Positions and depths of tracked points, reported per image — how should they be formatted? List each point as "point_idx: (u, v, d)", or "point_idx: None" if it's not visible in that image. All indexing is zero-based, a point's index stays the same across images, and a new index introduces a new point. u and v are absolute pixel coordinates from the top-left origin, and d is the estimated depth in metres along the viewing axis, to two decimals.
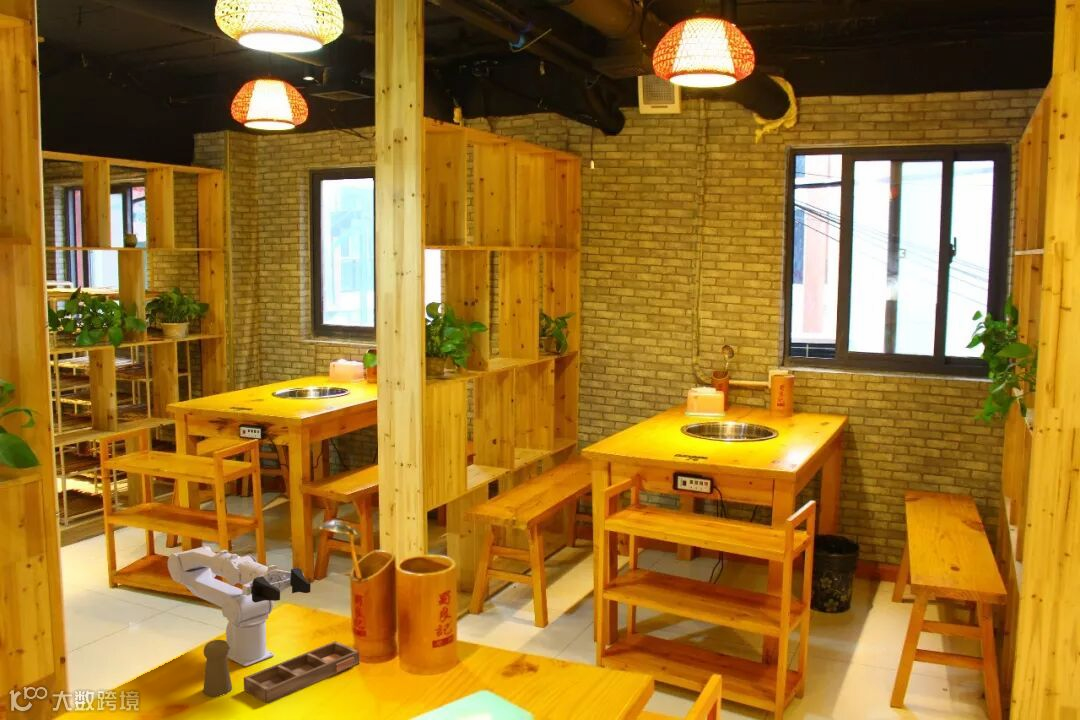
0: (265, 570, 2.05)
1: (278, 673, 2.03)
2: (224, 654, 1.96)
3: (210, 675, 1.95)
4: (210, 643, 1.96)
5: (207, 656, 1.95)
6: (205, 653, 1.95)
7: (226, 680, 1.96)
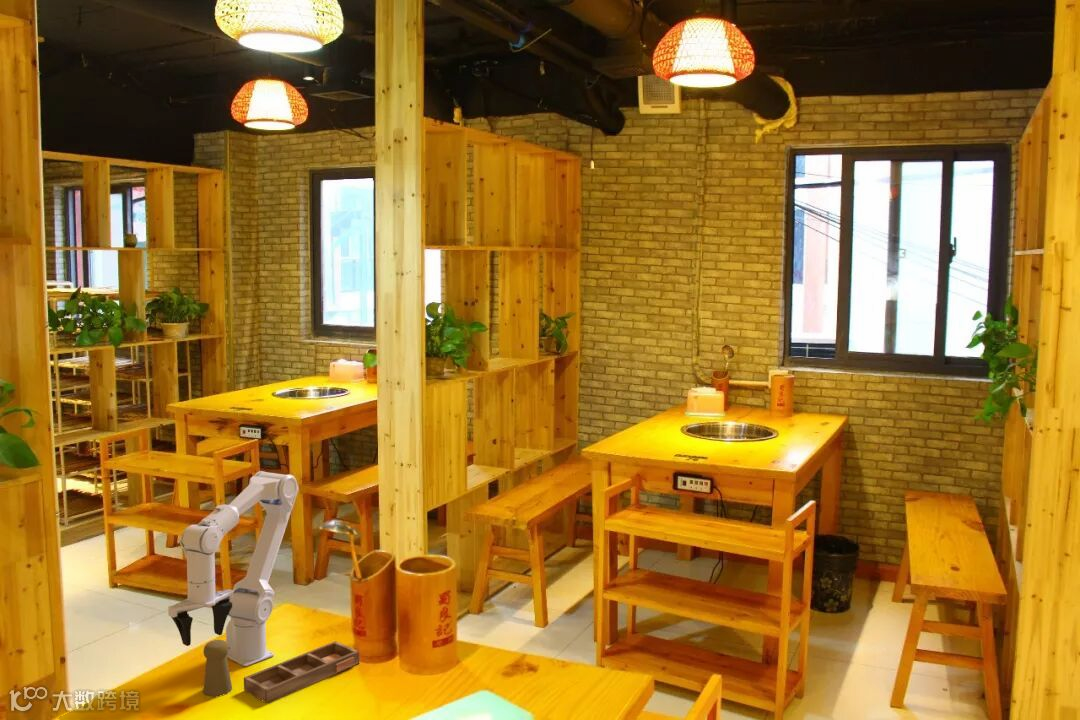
0: (204, 597, 1.96)
1: (278, 673, 2.03)
2: (224, 654, 1.96)
3: (210, 675, 1.95)
4: (210, 643, 1.96)
5: (207, 656, 1.95)
6: (205, 653, 1.95)
7: (226, 680, 1.96)
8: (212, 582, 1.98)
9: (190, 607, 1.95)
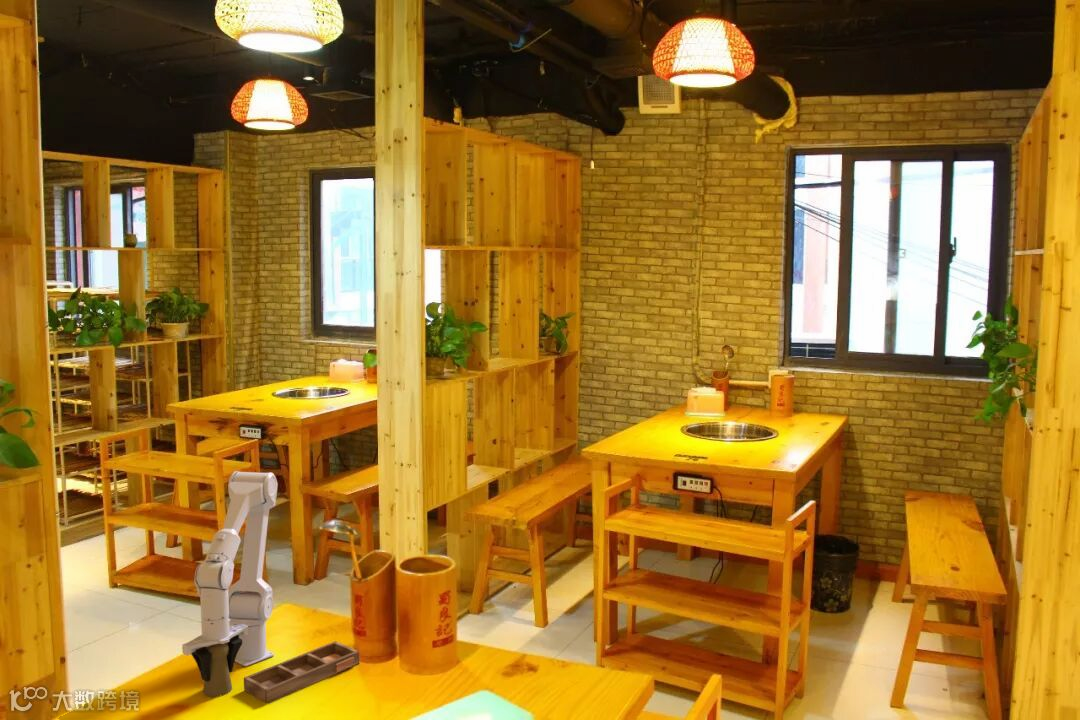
0: (218, 634, 1.94)
1: (278, 673, 2.03)
2: (224, 654, 1.96)
3: (210, 675, 1.95)
4: None
5: None
6: None
7: (226, 680, 1.96)
8: (226, 618, 1.95)
9: (204, 644, 1.93)
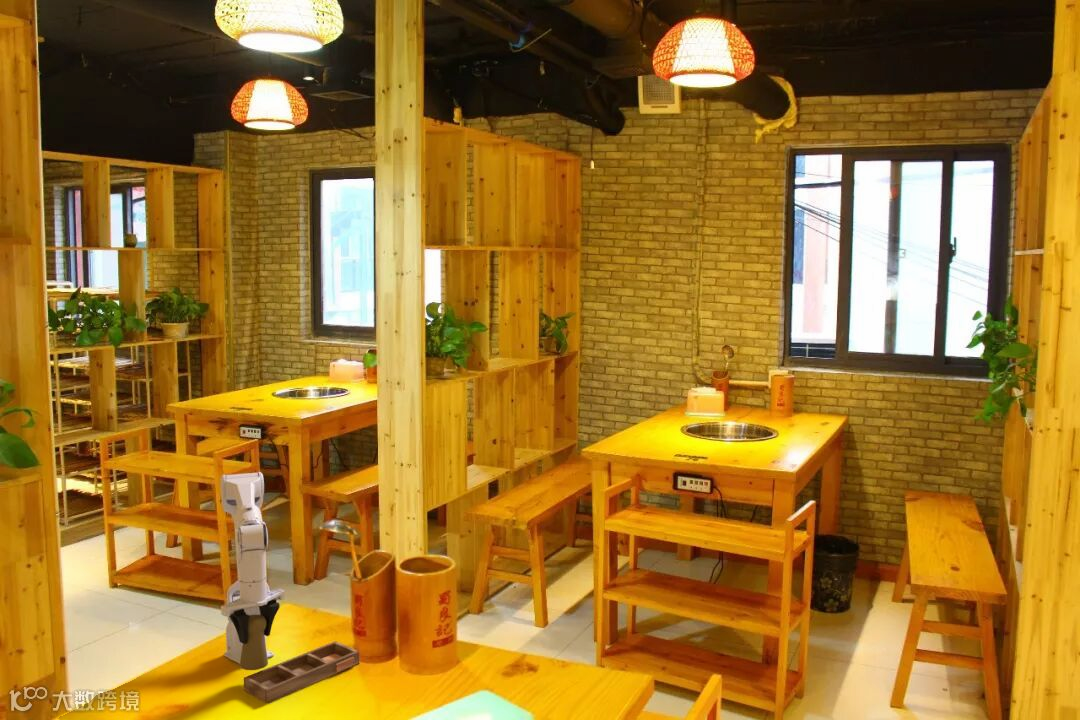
0: (256, 596, 1.97)
1: (278, 673, 2.03)
2: (262, 628, 1.99)
3: (248, 649, 1.98)
4: None
5: None
6: None
7: (262, 654, 1.99)
8: (264, 581, 1.98)
9: (243, 606, 1.95)
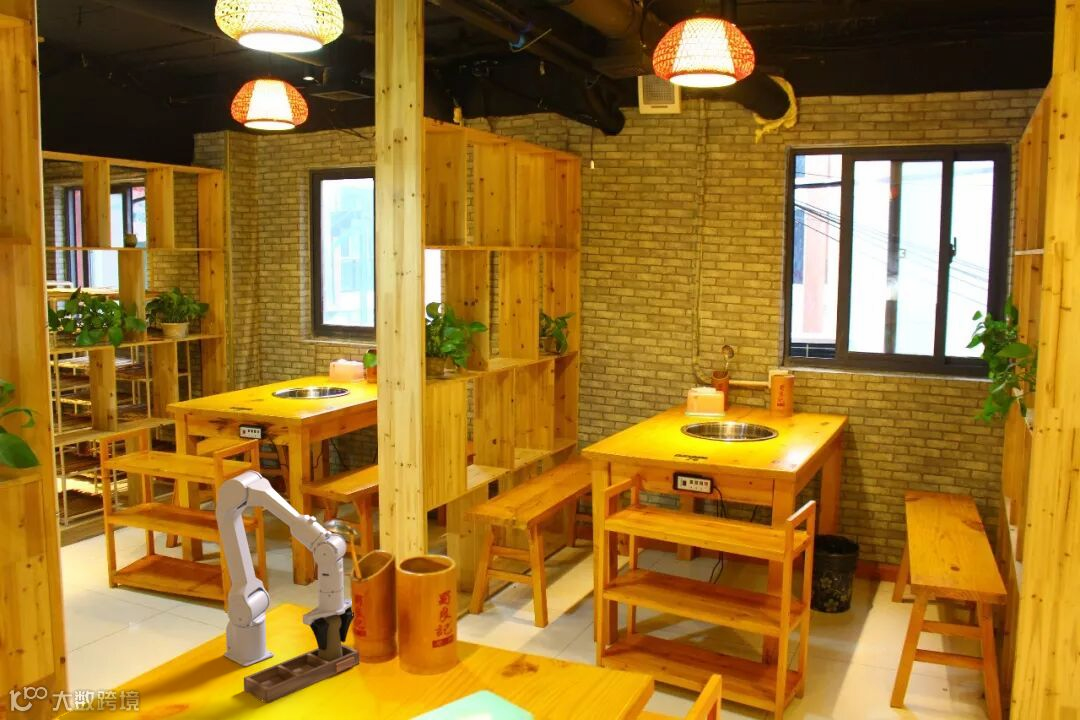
0: (335, 605, 2.07)
1: (278, 673, 2.03)
2: (338, 626, 2.09)
3: None
4: None
5: None
6: None
7: (339, 651, 2.09)
8: (342, 591, 2.08)
9: (323, 615, 2.05)
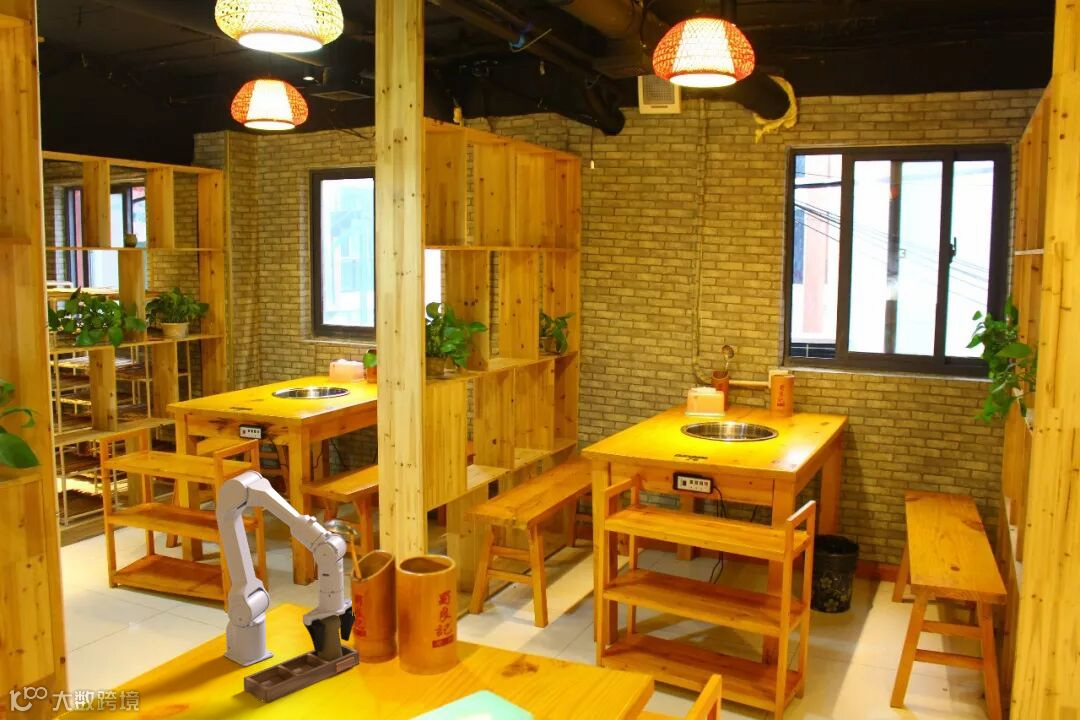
0: (335, 606, 2.07)
1: (278, 673, 2.03)
2: (338, 627, 2.09)
3: (325, 647, 2.08)
4: None
5: None
6: None
7: (339, 652, 2.09)
8: (342, 591, 2.08)
9: (323, 615, 2.05)
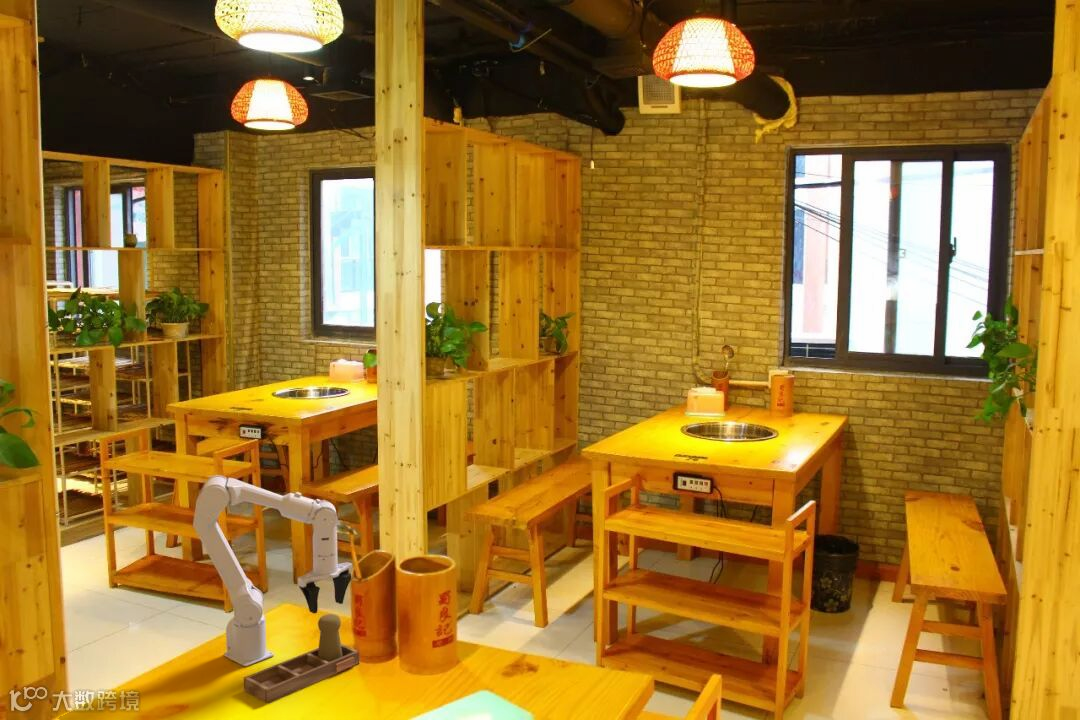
0: (329, 569, 2.14)
1: (278, 673, 2.03)
2: (338, 627, 2.09)
3: (325, 647, 2.08)
4: (324, 617, 2.09)
5: (322, 629, 2.08)
6: (320, 626, 2.08)
7: (339, 652, 2.09)
8: (335, 555, 2.16)
9: (317, 578, 2.13)
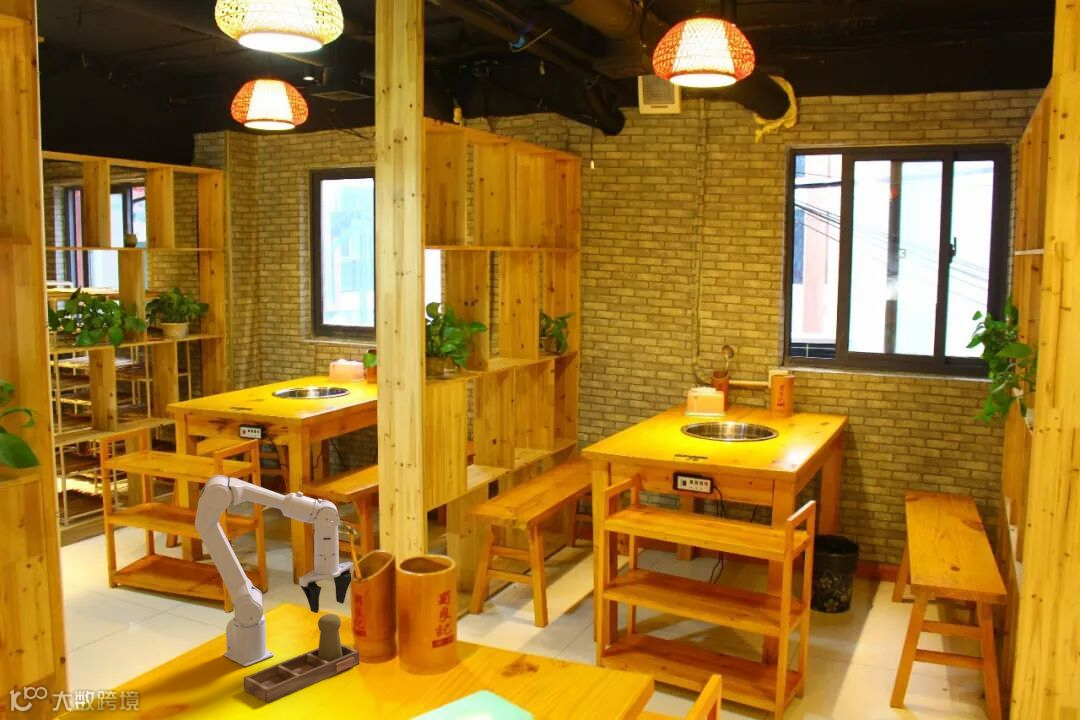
0: (331, 568, 2.15)
1: (278, 673, 2.03)
2: (338, 627, 2.09)
3: (325, 647, 2.08)
4: (324, 617, 2.09)
5: (322, 629, 2.08)
6: (320, 626, 2.08)
7: (339, 652, 2.09)
8: (337, 555, 2.16)
9: (319, 577, 2.13)
